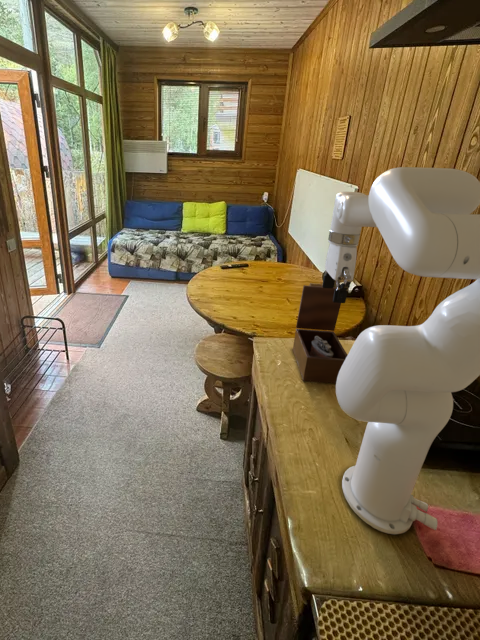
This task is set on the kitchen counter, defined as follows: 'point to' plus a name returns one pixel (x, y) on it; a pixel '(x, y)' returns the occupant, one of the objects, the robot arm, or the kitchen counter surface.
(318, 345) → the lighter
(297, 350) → the chest
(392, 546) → the kitchen counter surface
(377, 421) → the robot arm
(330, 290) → the lid
